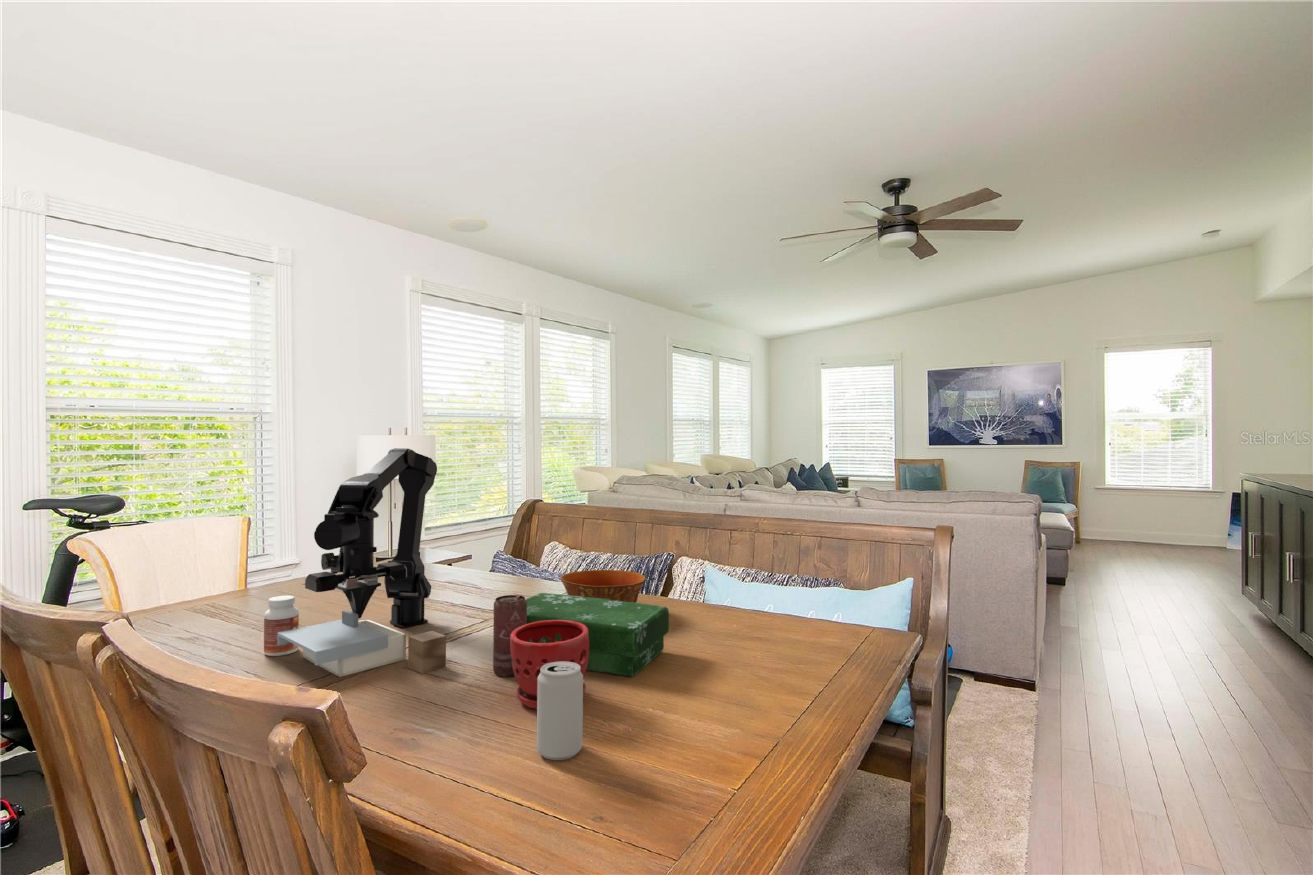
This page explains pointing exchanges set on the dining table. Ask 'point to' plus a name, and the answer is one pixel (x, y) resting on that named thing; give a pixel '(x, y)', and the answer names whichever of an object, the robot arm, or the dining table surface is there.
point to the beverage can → (559, 710)
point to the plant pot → (545, 652)
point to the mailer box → (368, 653)
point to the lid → (335, 638)
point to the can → (506, 630)
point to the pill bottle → (279, 624)
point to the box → (607, 629)
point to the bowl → (604, 584)
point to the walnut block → (426, 651)
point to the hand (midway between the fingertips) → (357, 618)
